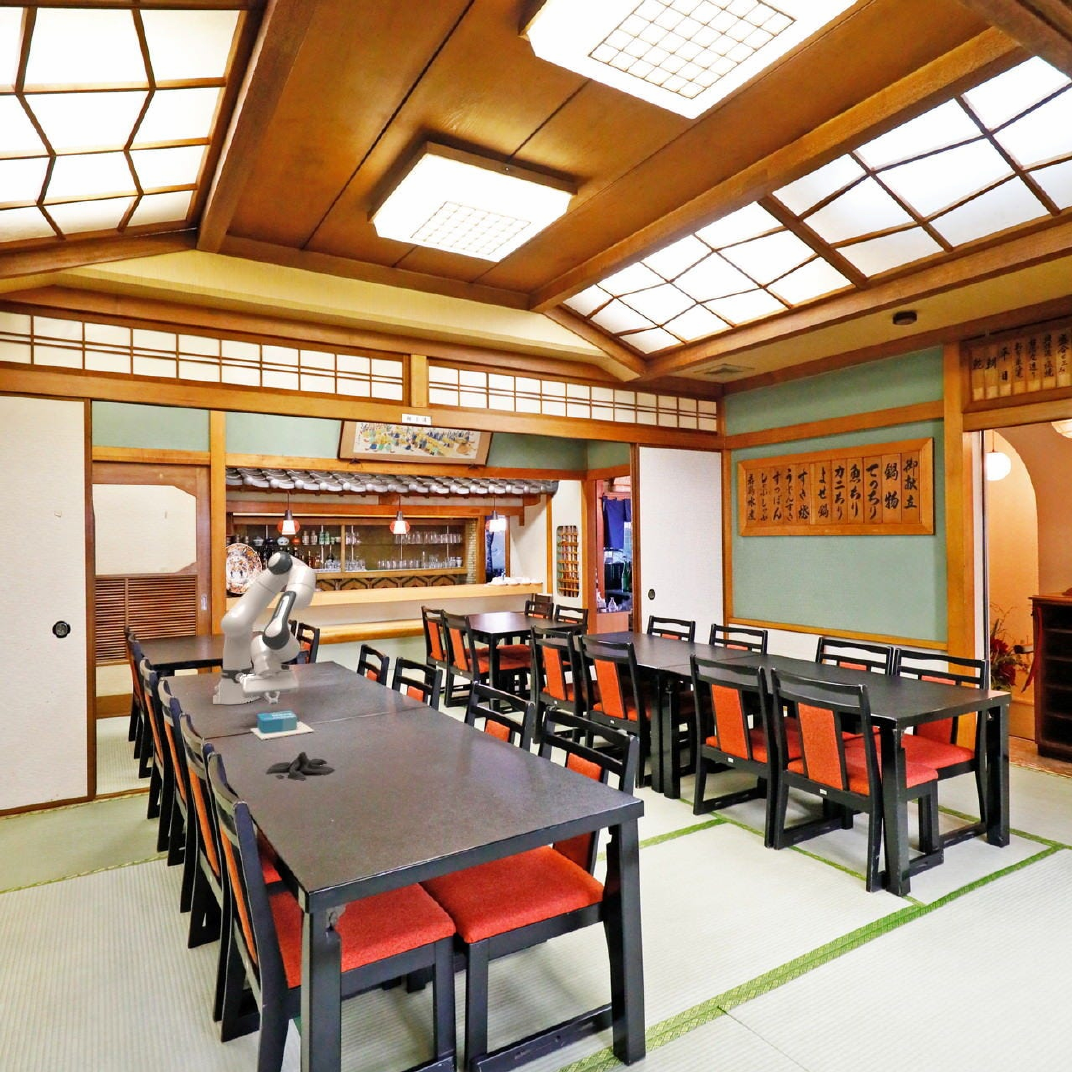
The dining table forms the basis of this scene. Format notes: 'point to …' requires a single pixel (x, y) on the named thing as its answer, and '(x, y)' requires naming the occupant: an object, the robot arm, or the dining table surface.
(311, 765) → the cloth
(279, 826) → the dining table surface
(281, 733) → the pale mat
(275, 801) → the dining table surface
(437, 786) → the dining table surface
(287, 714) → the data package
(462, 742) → the dining table surface
